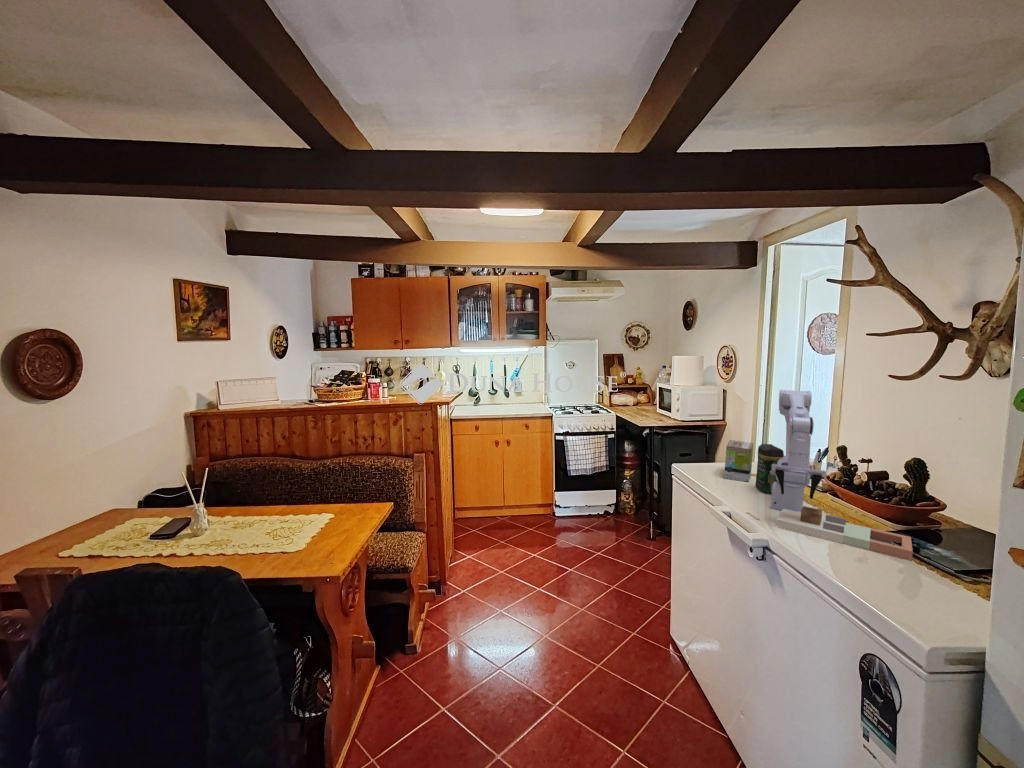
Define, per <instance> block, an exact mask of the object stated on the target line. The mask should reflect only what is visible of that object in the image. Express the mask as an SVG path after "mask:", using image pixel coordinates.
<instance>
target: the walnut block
mask: <svg viewBox="0 0 1024 768" xmlns="http://www.w3.org/2000/svg"><path fill="white" fill-rule="evenodd" d="M822 516H823V509H819V508H814V507H810V506H805V505H803V508H802V510H801V519H800V521H802V522H806V523H811V524H815V525H819V526H820V523H821V519H822Z"/></svg>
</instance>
